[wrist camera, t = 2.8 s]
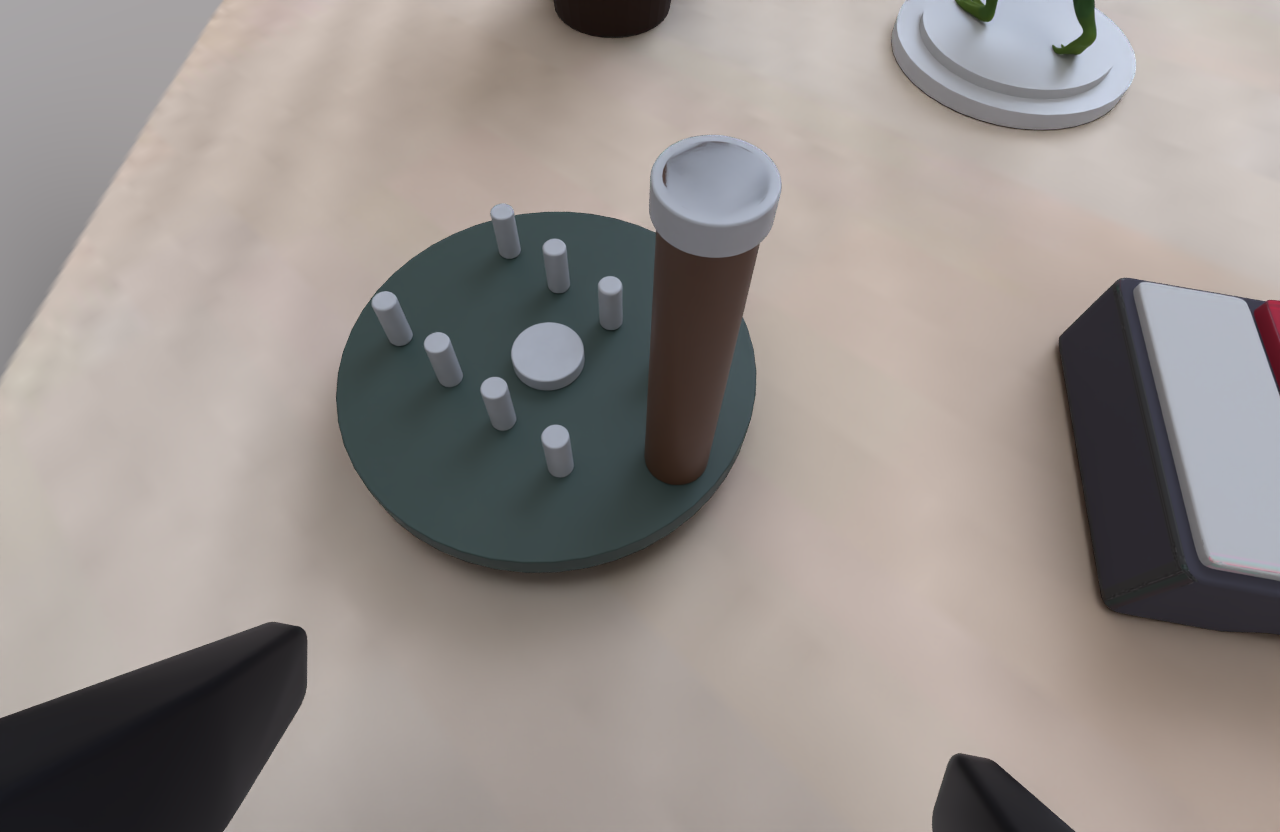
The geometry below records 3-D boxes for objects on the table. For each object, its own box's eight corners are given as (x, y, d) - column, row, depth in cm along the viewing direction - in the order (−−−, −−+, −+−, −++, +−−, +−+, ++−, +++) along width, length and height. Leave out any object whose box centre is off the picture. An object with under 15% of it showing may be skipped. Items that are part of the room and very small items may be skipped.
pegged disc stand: (261, 394, 24) (-28, 67, 13) (546, 179, 29) (502, -174, 19) (559, 674, 19) (481, 517, 9) (829, 360, 25) (977, 33, 14)
